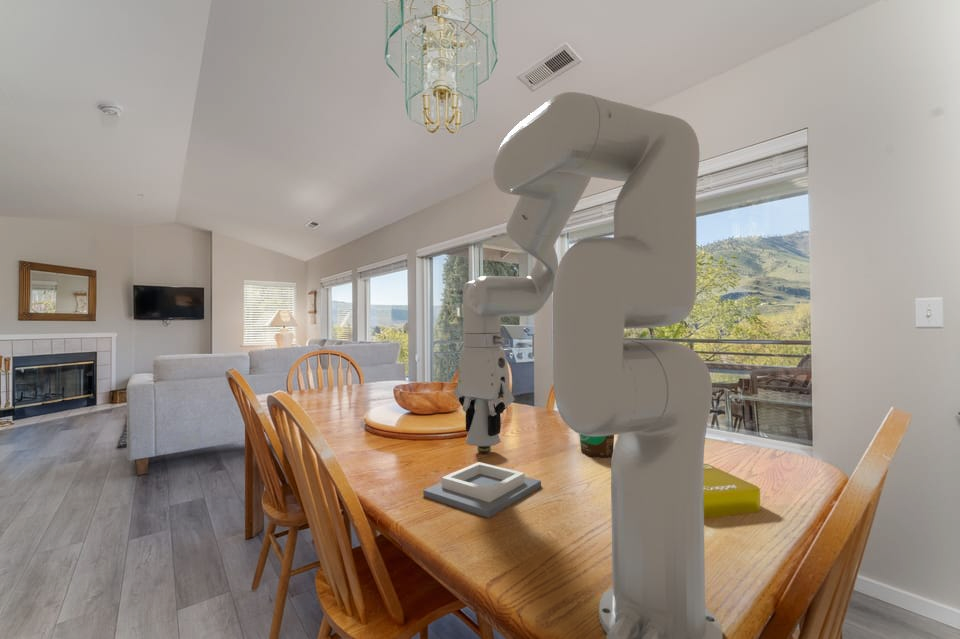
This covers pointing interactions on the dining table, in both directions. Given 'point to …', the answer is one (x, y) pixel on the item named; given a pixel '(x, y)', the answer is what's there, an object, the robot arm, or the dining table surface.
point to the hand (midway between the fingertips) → (482, 431)
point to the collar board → (482, 488)
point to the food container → (597, 446)
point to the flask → (481, 427)
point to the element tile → (728, 494)
